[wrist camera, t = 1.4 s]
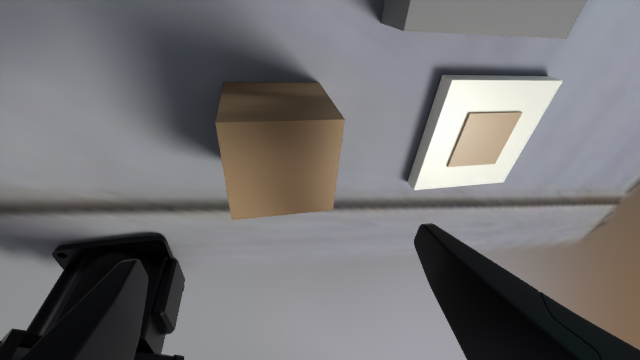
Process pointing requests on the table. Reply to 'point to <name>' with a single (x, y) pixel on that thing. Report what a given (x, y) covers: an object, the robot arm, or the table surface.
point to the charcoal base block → (485, 16)
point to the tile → (479, 128)
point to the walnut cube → (278, 147)
